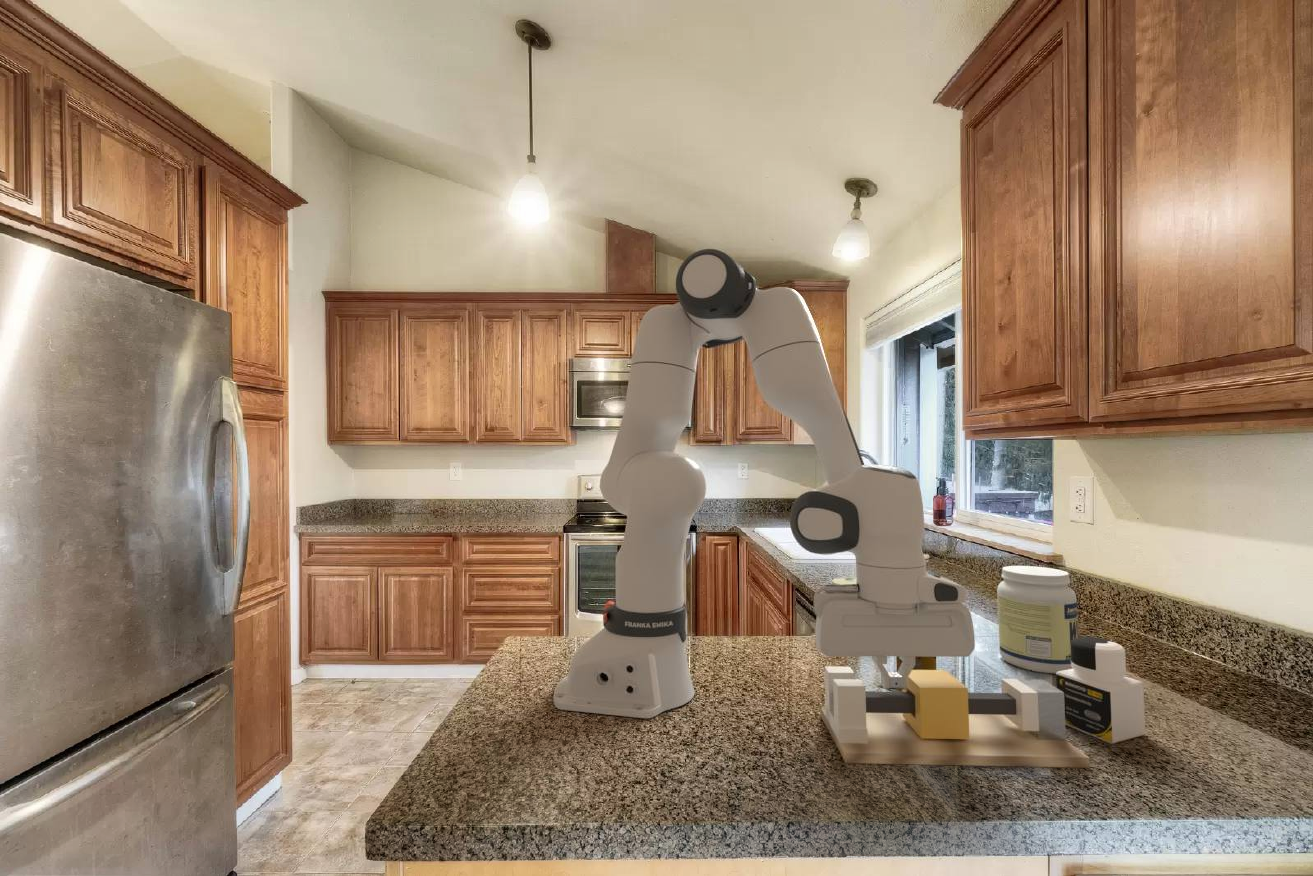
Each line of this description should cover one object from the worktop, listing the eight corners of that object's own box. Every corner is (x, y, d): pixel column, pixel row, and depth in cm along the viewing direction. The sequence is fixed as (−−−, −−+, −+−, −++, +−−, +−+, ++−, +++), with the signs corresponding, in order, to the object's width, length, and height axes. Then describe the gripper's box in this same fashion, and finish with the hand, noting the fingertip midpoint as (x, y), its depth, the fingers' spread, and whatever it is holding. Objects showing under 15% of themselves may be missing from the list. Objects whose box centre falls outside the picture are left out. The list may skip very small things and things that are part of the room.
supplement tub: (1085, 680, 96) (1081, 579, 97) (1000, 668, 102) (997, 573, 103) (1074, 658, 107) (1070, 567, 108) (998, 649, 113) (995, 562, 114)
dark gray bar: (837, 712, 76) (836, 697, 76) (833, 706, 78) (833, 691, 78) (1039, 715, 75) (1038, 699, 75) (1030, 708, 77) (1029, 693, 77)
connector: (1038, 740, 73) (1036, 692, 74) (1018, 724, 78) (1017, 679, 78) (1066, 740, 73) (1064, 692, 74) (1044, 724, 78) (1042, 679, 78)
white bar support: (839, 743, 73) (838, 687, 73) (824, 715, 81) (823, 665, 81) (867, 743, 73) (866, 687, 73) (850, 716, 81) (848, 665, 81)
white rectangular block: (1023, 730, 73) (1021, 692, 74) (1002, 714, 78) (1001, 678, 78) (1039, 731, 73) (1037, 692, 74) (1017, 714, 78) (1016, 678, 78)
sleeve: (921, 738, 73) (919, 687, 74) (902, 716, 80) (901, 669, 80) (969, 739, 73) (967, 688, 73) (946, 717, 79) (945, 670, 80)
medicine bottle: (1056, 722, 81) (1053, 636, 82) (1090, 714, 84) (1087, 630, 84) (1112, 745, 74) (1108, 651, 75) (1146, 735, 77) (1142, 645, 77)
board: (845, 763, 71) (845, 753, 71) (821, 716, 84) (820, 708, 84) (1089, 767, 69) (1089, 757, 69) (1026, 719, 82) (1026, 711, 82)
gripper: (818, 589, 75) (821, 697, 74) (978, 589, 74) (983, 698, 73) (808, 579, 81) (810, 678, 81) (955, 579, 80) (959, 679, 80)
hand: (894, 688), depth 77 cm, fingers closed
